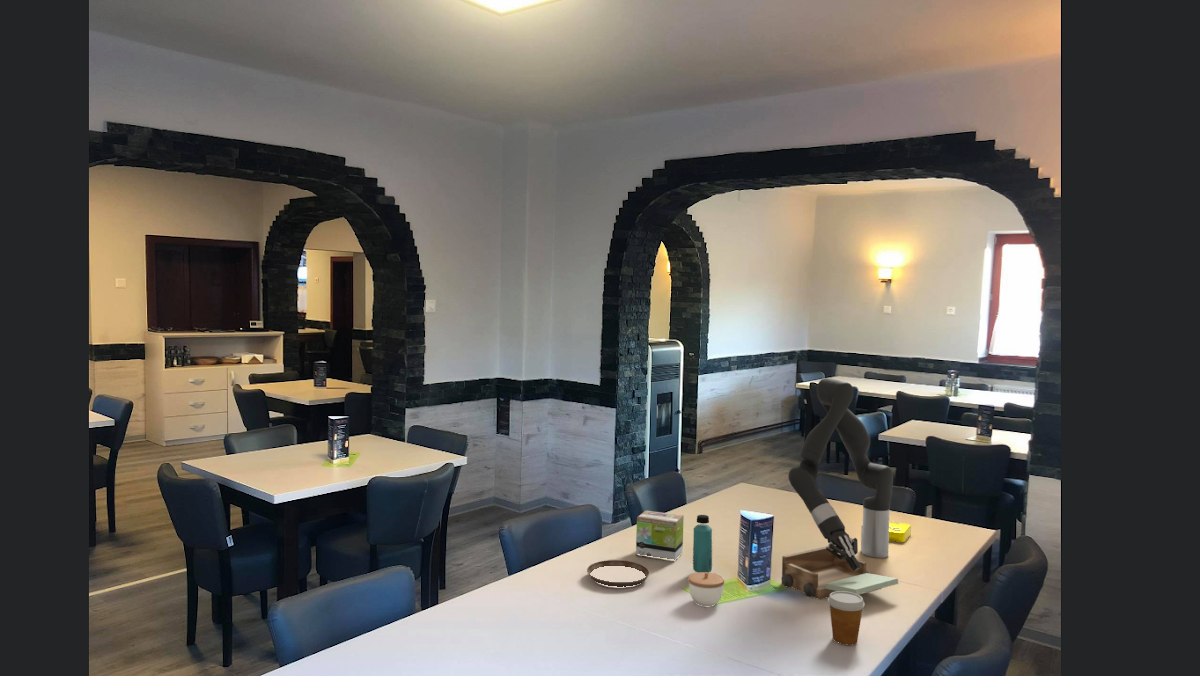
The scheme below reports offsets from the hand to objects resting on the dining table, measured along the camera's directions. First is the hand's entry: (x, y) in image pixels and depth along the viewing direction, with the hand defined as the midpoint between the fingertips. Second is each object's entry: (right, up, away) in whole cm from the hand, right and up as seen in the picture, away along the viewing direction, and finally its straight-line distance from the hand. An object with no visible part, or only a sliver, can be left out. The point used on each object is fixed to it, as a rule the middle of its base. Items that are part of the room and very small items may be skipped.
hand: (857, 569), depth 238 cm
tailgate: (-2, -5, +3) cm, 7 cm away
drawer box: (-7, -8, +10) cm, 15 cm away
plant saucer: (-75, -8, +13) cm, 76 cm away
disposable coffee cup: (-14, -10, -31) cm, 36 cm away
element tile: (+35, -7, +66) cm, 74 cm away
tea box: (-59, -7, +37) cm, 70 cm away
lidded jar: (-48, -9, -7) cm, 50 cm away
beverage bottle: (-46, -7, +18) cm, 50 cm away
